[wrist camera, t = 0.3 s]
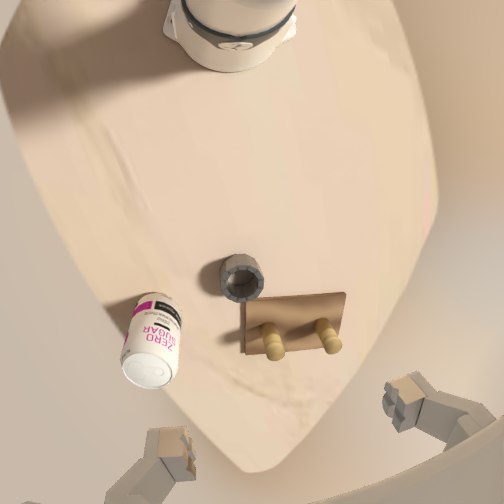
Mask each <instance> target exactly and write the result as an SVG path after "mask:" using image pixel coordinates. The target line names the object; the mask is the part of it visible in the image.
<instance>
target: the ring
mask: <svg viewBox="0 0 504 504" xmlns="http://www.w3.org/2000/svg"><path fill="white" fill-rule="evenodd" d="M238 270H248V271H250V272H252V273H254V274H255V275H254V277H253V278H252V280H251V282H249V283H247V284H245V285H238V286H236V285H234V284H231V283H229V282H228V278H229V277H230V275H231V274H233V273H234V272H236V271H238ZM220 281H221V290H222V292H223V293H224V295H225V296H226V297H227V299H230V300H232V301H234V302H236V303H241V302H249V301H251V300H253V299H255V298H257V297H258V296H259V294H260V293H261V291H262V290H263V286H264V278H263V275H262V272H261V269H260V267H259V265H258V263H257V262H256V260H255V259H254V258H252V257H250V256H248V255H246V254H234V255H233V256H231V257H229V258H227V259H226V260H225V261H224V263H223V264H222V266H221V267H220Z"/></svg>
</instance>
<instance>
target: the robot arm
mask: <svg viewBox="0 0 504 504" xmlns="http://www.w3.org/2000/svg"><path fill="white" fill-rule="evenodd" d="M298 1H299V0H171V3H170V6H169V9H168V13H167V16H166V19H165V22H164V26H163V32H164V34H165V35H166V36H167V37H169V38H170V39H172V40H174V41H176V42H178V43H179V44H180V45H181V46H182V47H183V48H184V50H185V51H186V53H187V54H188V55H189V56H190V57H191V58H192V59H193V60H194V61H196V62H197V63H199V64H200V65H202V66H204V67H206V68H209V69H212V70H215V71H220V72H238V71H244V70H247V69H250V68H253V67H255V66H257V65H259V64H260V63H262V62H263V61H265V60H266V59H267V58H268V57H269V56H270V55H271V54H272V53H273V51H274V50H275V49H276V48H277V47H278V46H279V45H280V44H282V43H284V42H286V41H288V40H290V39H291V38H293V37H294V36H295V34H296V26H295V21H296V16H294V15H293V12H294V9H295V6H296V4H297V2H298ZM171 21H172V23H171ZM384 390H385V391H386V393H385V394H384V396H383V400H382V404H383V409H384V411H385V413H386V415H387V416H389V417H391V418H393V420H392V424H393V425H394V427H395V429H396V430H397V432H398V433H400V432H402V431H405V430H408V429H410V428H413V427H415V426H416V428H418V429H420V430H422V431H424V432H426V433H428V434H430V435H431V436H433V437H435V438H437V439H439V440H441V441H443V442H445V443H447V444H446V447H445V448H444V450H443V453H441V454H439V455H437V456H435V457H433V458H431V459H429V460H428V461H425V462H423V463H421V464H419V465H417V466H415V467H413V468H410V469H408V470H406V471H403V472H401V473H399V474H396V475H394V476H392V477H389V478H387V479H384V480H382V481H379V482H376V483H374V484H371V485H368V486H366V487H363V488H360V489H357V490H354V491H351V492H348V493H345V494H342V495H338V496H335V497H331V498H328V499H325V500H321V501H317V502H313V503H309V504H504V415H502V416H501V417H500V418H498V419H496V418H495V417H494V416H493V415H492V414H491V413H490V412H489V411H488V409H486V407H485V406H484V405H483V404H481V403H478V402H474V401H471V400H467V399H464V398H461V397H457V396H454V395H451V394H448V393H445V392H442V391H438V392H437V391H436V390H435V389H434V388H433V387H432V386H431V385H430V384H429V382H427V380H426V379H425V378H424V377H423V376H422V375H421V374H420V372H418V371H415V372H412V373H410V374H407V375H404V376H402V377H399V378H397V379H394V380H391V381H389V382H386V384H385V387H384ZM195 460H196V452H195V446H194V443H193V440H192V438H190V437H189V431H188V429H187V427H186V426H181V427H162V428H149V430H148V431H147V438H146V444H145V451H144V457H143V458H142V459H141V458H140V459H139V460H138V461H137V462H136V463H135V464H134V465H133V466H132V467H131V468H130V469H129V470H128V471H127V472H126V473H125V474H124V475H123V476H122V477H121V478H120V479H119V480H118V481H117V482H116V483H115V484H114V485H113V486H112V487H111V488H110V489H109V490H108V491H107V492H106V497H105V502H104V504H162V502H163V501H164V499H165V498H166V496H167V495H168V494H169V492H170V491H171V489H172V488H173V486H174V485H175V483H176V482H180V481H194V480H196V467H195V465H194V463H193V462H194V461H195ZM22 504H39V503H36V502H31V501H27V502H24V503H22Z"/></svg>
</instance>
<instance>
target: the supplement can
mask: <svg viewBox="0 0 504 504" xmlns="http://www.w3.org/2000/svg"><path fill="white" fill-rule="evenodd" d="M181 324H182V310H181V308H180V306H179V304H178V303H177V302H176V301H175V300H174V299H173V298H171V297H169V296H167V295H165V294H160V293H152V294H147V295H145V296H143V297H142V298H141V299H140V300H139V301H138V302H137V304H136V307H135V310H134V313H133V317H132V320H131V323H130V326H129V329H128V333H127V336H126V339H125V343H124V346H123V349H122V353H121V358H120V361H121V365H122V368H123V371H124V374H125V376H126V377H127V378H128V380H129V381H131V382H132V383H134V384H135V385H137V386H140V387H142V388H147V389H159V388H162V387H164V386H166V385H168V384H169V383H170V382H171V380H172V378H174V377H175V375H176V373H177V370H178V362H179V348H180V335H181Z"/></svg>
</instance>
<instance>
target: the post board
mask: <svg viewBox="0 0 504 504" xmlns="http://www.w3.org/2000/svg"><path fill="white" fill-rule="evenodd" d="M345 299H346V294H345V292H338V293H325V294H312V295H298V296H282V297H266V298H255V299H253V300H251V301H249V302H246V313H245V354H246V355H255V354H266V355H267V358H268V359H269V360H271V361H278V360H280V359H282V358H283V357H284V355H285V352H289V351H299V350H308V349H316V348H324V349H325V351H326V353H328V354H335V353H337V352H339V351H340V350H341V348H342V343H341V341H340V339H339V338H338V334H339V329H340V324H341V319H342V315H343V310H344V304H345Z"/></svg>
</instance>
